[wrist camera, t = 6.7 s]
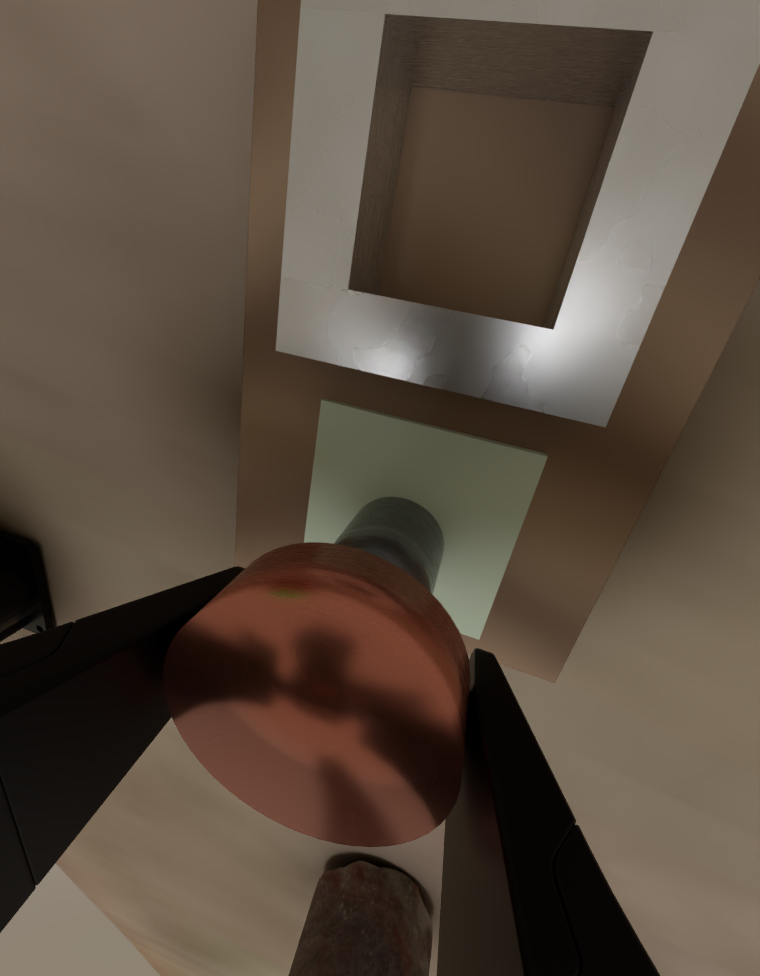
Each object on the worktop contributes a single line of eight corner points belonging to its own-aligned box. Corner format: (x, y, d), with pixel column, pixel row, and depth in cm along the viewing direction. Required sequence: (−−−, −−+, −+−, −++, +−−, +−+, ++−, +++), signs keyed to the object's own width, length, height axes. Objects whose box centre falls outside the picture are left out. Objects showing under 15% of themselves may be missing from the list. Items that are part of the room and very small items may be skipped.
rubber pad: (479, 634, 15) (479, 639, 14) (302, 574, 16) (299, 578, 16) (547, 453, 12) (547, 456, 12) (324, 398, 13) (321, 399, 13)
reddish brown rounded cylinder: (456, 631, 13) (418, 887, 7) (311, 582, 14) (167, 772, 8) (504, 489, 11) (509, 680, 5) (330, 442, 12) (156, 556, 6)
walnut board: (550, 653, 16) (554, 683, 14) (253, 554, 18) (234, 571, 17) (848, 29, 9) (913, -27, 7) (290, -4, 11) (259, -51, 9)
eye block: (584, 407, 11) (605, 427, 9) (315, 346, 12) (275, 350, 10) (742, 4, 8) (839, -126, 6) (356, -16, 9) (310, -127, 7)
